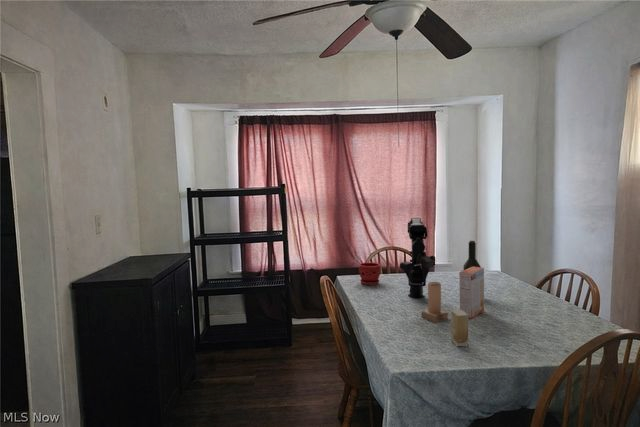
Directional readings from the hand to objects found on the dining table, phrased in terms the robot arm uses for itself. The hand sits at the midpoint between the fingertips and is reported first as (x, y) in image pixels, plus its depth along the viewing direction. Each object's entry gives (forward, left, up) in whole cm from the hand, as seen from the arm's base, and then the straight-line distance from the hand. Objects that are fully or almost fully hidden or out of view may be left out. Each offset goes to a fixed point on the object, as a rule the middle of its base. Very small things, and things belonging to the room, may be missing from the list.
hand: (417, 281), depth 185 cm
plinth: (+5, +15, -13) cm, 20 cm away
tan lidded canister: (+5, +15, -10) cm, 19 cm away
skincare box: (+18, +39, -13) cm, 45 cm away
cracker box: (-13, +21, -13) cm, 28 cm away
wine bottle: (-34, +5, -13) cm, 37 cm away
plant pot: (-9, -49, -13) cm, 52 cm away
